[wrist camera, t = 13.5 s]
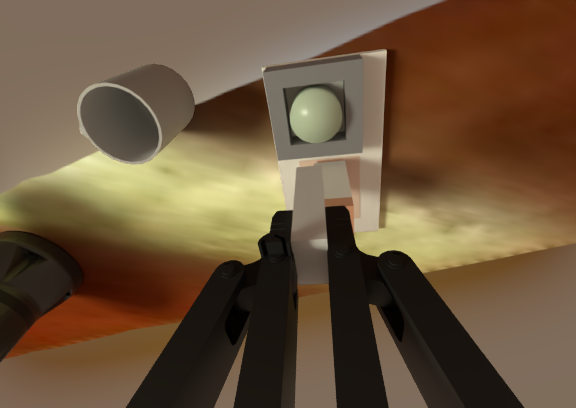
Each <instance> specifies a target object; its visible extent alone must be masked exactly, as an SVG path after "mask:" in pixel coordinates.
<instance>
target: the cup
mask: <svg viewBox="0 0 576 408" xmlns="http://www.w3.org/2000/svg"><path fill="white" fill-rule="evenodd" d="M194 110H195V104H194V98H193V94H192V91H191V90H190V88H189V86H188V84H187V83H186V81H185V80H184V79H183V78H182V77H181V76H180V75H179V74H178V73H176V72H175V71H174V70H172V69H170V68H168V67H166V66H163V65H157V64H150V65H144V66H141V67H138V68H135V69H133V70H130V71H127V72H125V73H122V74H120V75H117V76H114V77H112V78H109V79H106V80H104V81H101V82H99V83H96V84H94V85H92V86H90V87H88V88H86V89H85V90H84V92H83V93H82V94H81V95H80V97H79V100H78V103H77V116H78V119H79V123H80V126H79V128H80V133H81V134H82V135H84V136H85V137H87V138H88V139H89V140H90V141H91V143H92V144H93V145H94V146H95V147H96V148H97V149H99V150H100V151H101V152H102V153H103V154H105V155H107V156H108V157H110V158H112V159H114V160H117V161H119V162H122V163H127V164H143V163H145V162H148V161H150V160H152V159H153V158H154V157H155V156H156V155H157V154H158V153H159V152H160V151H161V150H162V149H163V148H164V147H165V146H166V145H168V144H169V143H170V142H171V141H172V140H173V139H174V138H175V137H176V136H177V135H178V134H179V133H180V132H181V131H182V130H183V129H184V128H185V127H186V126H187V125H188V124H189V122H190V121H191V119H192V117H193V114H194Z"/></svg>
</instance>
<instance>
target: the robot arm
mask: <svg viewBox="0 0 576 408" xmlns="http://www.w3.org/2000/svg"><path fill="white" fill-rule="evenodd" d="M258 246H259V250H260V254H261V259H259V260H258V261H256V262H253V263H250V264H247V265H243V264H242V263H241V262H239V261H236V260H230V261H227V262H224V263H222V264H221V265H219V266H218V267H217V268H216V270H215V271H214V273H213V274H212V276H211V277H210V279H209V280H208V282H207V283H206V285H205V287H204V288H203V290H202V291H201V293H200V294H199V296H198V297H197V299H196V300H195V302H194V303H193V305H192V307H191V308H190V310H189V311H188V313H187V314H186V316H185V317H184V319H183V320H182V322H181V323H180V325H179V327H178V328H177V330H176V331H175V333H174V334H173V336H172V337H171V339H170V340H169V342H168V343H167V345H166V347H165V348H164V350H163V351H162V353H161V354H160V356H159V357H158V359H157V361H156V362H155V364H154V365H153V367H152V368H151V370H150V371H149V373H148V374H147V376H146V377H145V379H144V381H143V382H142V384H141V385H140V387H139V388H138V390H137V391H136V393H135V394H134V396H133V397H132V399H131V400H130V402H129V404H128V405H127V407H126V408H214V406H215V403H216V401H217V399H218V397H219V395H220V392H221V390H222V388H223V386H224V383H225V381H226V379H227V376H228V374H229V372H230V370H231V367H232V365H233V363H234V360H235V358H236V356H237V354H238V351H239V349H240V347H241V345H242V342H243V339H244V338H245V336H246V333H247V338H246V343H245V348H244V354H243V359H242V365H241V370H240V375H239V381H238V386H237V392H236V397H235V403H234V408H295V379H296V351H297V323H298V321H297V320H298V290H297V280H298V285H310V284H329V292H330V308H331V323H332V338H333V354H334V368H335V384H336V399H337V408H389V407H388V402H387V397H386V391H385V386H384V381H383V376H382V371H381V365H380V360H379V355H378V350H377V344H376V339H375V334H374V329H373V324H372V319H371V313H370V308H369V304H372V305H376V306H377V309H378V311H379V313H380V315H381V317H382V318H383V320H384V322H385V324H386V326H387V328H388V330H389V332H390V334H391V336H392V338H393V340H394V342H395V344H396V346H397V348H398V350H399V351H400V353H401V355H402V357H403V359H404V361H405V363H406V365H407V367H408V369H409V371H410V373H411V375H412V377H413V379H414V381H415V383H416V385H417V386H418V389H419V391H420V393H421V394H422V396H423V398H424V400H425V402H426V404H427V406H428V408H524V407H523V405H522V404H521V403H520V401H519V400H518V399H517V397H516V396H515V395H514V393H513V392H512V391H511V389H510V388H509V387H508V385H507V384H506V383H505V382H504V380H503V379H502V378H501V376H500V375H499V374H498V373H497V371H496V370H495V368H494V367H493V366H492V364H491V363H490V362H489V360H488V359H487V358H486V357H485V355H484V354H483V353H482V351H481V350H480V349H479V347H478V346H477V345H476V343H475V342H474V341H473V339H472V338H471V337H470V335H469V334H468V333H467V331H466V330H465V329H464V327H463V326H462V325H461V324H460V322H459V321H458V320H457V318H456V317H455V316H454V314H453V313H452V312H451V310H450V309H449V308H448V306H447V305H446V304H445V302H444V301H443V300H442V299H441V297H440V296H439V295H438V293H437V292H436V291H435V289H434V288H433V287H432V286H431V284H430V283H429V281H428V280H427V279H426V278H425V277H424V275H423V273H422V272H421V271H420V270H419V268H418V267H417V266H416V264H415V263H414V262H413V260H412V259H411V258H410V257H409V256H408V255H407V254H405V253H403V252H400V251H394V250H393V251H386V252H384V253H382V254H381V255H380V256H379V257H376V256H371V255H367V254H365V253H363V252H361V251H360V250H359V249H358V248H357V246H356V244H355V238H354V233H353V228H352V223H351V217H350V212H349V210H348V209H347V208H346V207H345V206H344V205H342V206H329V207H325V200H324V188H323V175H322V165H315V166H305V167H297V168H296V180H295V192H294V205H293V210H286V211H277V212H276V213H275V215H274V216H273V217H272V222H271V228H270V233H268V234H266V235H264V236H263V237H262V238H261V239H260V240H259V242H258ZM82 281H83V276H82V272H81V270H80V268H79V266H78V265H77V263H76V262H75V261H74V260H73V259H72V258H71V257H70V256H69V255H68V254H67V253H66V252H65V251H63V250H62V249H61V248H59V247H58V246H56V245H54V244H53V243H51V242H49V241H47V240H45V239H42V238H40V237H37V236H35V235H31V234H28V233H23V232H16V231H7V232H1V233H0V362H1V361H2V360H3V359H4V358H5V357H6V355H7V354H8V353H9V352H10V351H11V350H12V348H13V347H14V346H15V345H16V344H17V343H18V341H19V340H20V339H21V338H22V337H23V336H24V334H25V333H26V332H27V331H28V330H29V329H30V327H31V326H32V325H33V324H34V323H35V322H36V321H37V320H38V319H39V318H41V317H42V316H44V315H45V314H47V313H48V312H50V311H51V310H53V309H54V308H55V307H57V306H58V305H60V304H61V303H63V302H64V301H66V300H67V299H69V298H70V297H71V296H72V295H73V294H74V293H75V292H76V291H77V289H78V288H79V287H80V286H81V284H82ZM247 331H248V332H247Z"/></svg>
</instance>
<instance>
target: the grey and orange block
mask: <svg viewBox="0 0 576 408" xmlns="http://www.w3.org/2000/svg"><path fill="white" fill-rule="evenodd" d="M315 165H322V175H323V188H324V200H325V207H329V206H342V205H344V206H345V207H346V208H347V209H348V210H349V212H350V217H351V223H352V228H353V233H354V205H353V199H352V194H351V189H350V184H349V178H348V173H347V168H346V162H345V160H344V161H342V160H341V159H333V160H322V161H317V163H314V166H315Z"/></svg>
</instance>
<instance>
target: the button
mask: <svg viewBox="0 0 576 408" xmlns="http://www.w3.org/2000/svg"><path fill="white" fill-rule="evenodd" d="M341 123H342V110H341V106H340V102H339V98H338V96H337V94H336V93H335V92H334V91H333V90H332V89H331V88H330V87H328V86H326V85H323V84H312V85H308V86H306V87H304V88H302V89H301V90H300V91H299V92H298V93H297V94H296V96H295V98H294V100H293V103H292V108H291V112H290V124H291V127H292V129H293V131H294V133H295V134H296V135H297V136H298V137H299V138H300V139H302V140H304V141H306V142H309V143H322V142H325V141H327V140H329V139H331V138H332V137H333V136H334V135H335V134H336V133H337V132H338V130H339V129H340V126H341Z"/></svg>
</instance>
